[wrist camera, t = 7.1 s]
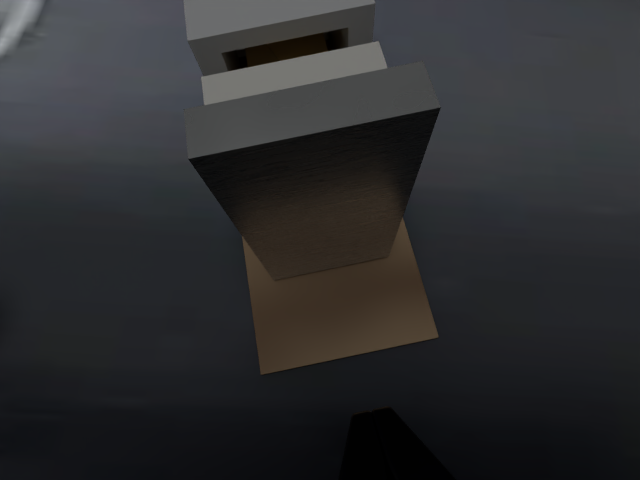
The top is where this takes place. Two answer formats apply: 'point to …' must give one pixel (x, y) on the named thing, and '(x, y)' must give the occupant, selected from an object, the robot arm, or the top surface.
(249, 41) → the socket block
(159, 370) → the top surface
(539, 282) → the top surface
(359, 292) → the track bed
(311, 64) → the sleeve
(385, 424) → the robot arm
